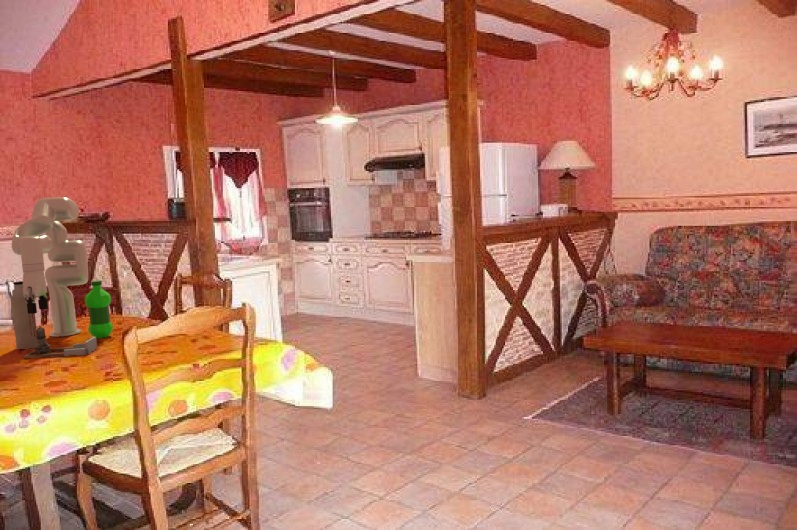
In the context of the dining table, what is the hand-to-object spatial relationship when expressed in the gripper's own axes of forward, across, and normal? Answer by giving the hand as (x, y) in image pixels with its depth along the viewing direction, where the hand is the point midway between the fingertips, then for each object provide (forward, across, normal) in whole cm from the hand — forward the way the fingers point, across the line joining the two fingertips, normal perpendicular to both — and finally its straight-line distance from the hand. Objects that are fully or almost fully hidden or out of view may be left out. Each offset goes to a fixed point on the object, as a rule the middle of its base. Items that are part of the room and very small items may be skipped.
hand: (38, 311), depth 258 cm
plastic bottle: (+18, -29, +13) cm, 36 cm away
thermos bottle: (+18, -17, -13) cm, 28 cm away
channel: (+18, -1, +3) cm, 18 cm away
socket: (+18, -1, +14) cm, 23 cm away
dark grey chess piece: (+18, -1, 0) cm, 18 cm away
